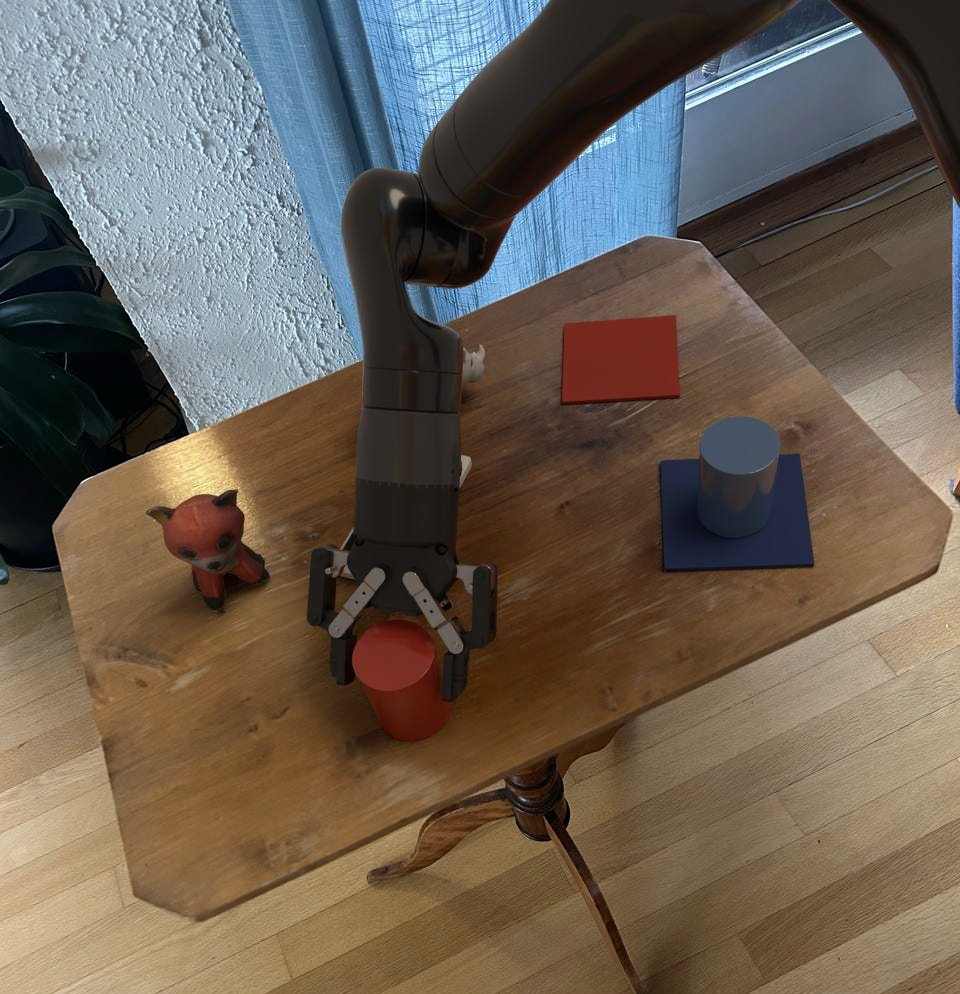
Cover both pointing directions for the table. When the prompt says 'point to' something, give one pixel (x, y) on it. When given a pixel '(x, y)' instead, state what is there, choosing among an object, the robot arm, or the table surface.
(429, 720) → the red cylinder
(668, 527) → the blue mat
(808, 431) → the table surface
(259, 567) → the stuffed fox
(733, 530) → the grey-blue cylinder
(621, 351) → the red mat
